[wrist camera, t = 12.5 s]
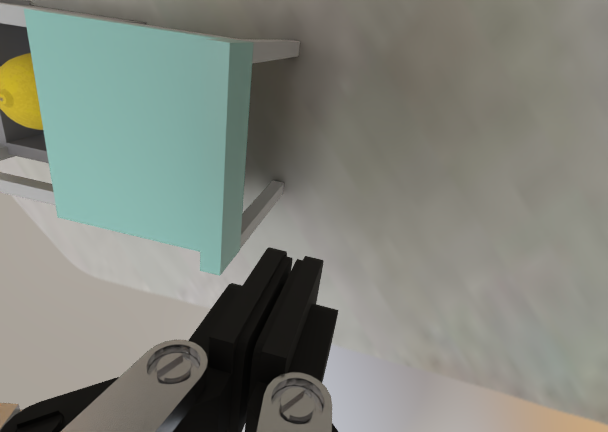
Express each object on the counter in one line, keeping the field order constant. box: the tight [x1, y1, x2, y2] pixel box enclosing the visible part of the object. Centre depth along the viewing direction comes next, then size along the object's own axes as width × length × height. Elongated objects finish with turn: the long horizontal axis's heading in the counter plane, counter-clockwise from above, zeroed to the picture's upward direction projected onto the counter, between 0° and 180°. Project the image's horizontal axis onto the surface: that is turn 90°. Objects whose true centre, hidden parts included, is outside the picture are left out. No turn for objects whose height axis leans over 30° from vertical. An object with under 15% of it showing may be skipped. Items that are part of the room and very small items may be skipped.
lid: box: [24, 9, 254, 275], centre depth 21 cm, size 12×12×3 cm
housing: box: [0, 0, 300, 248], centre depth 28 cm, size 12×24×10 cm, turn 83°
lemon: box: [0, 53, 43, 130], centre depth 29 cm, size 6×6×8 cm
